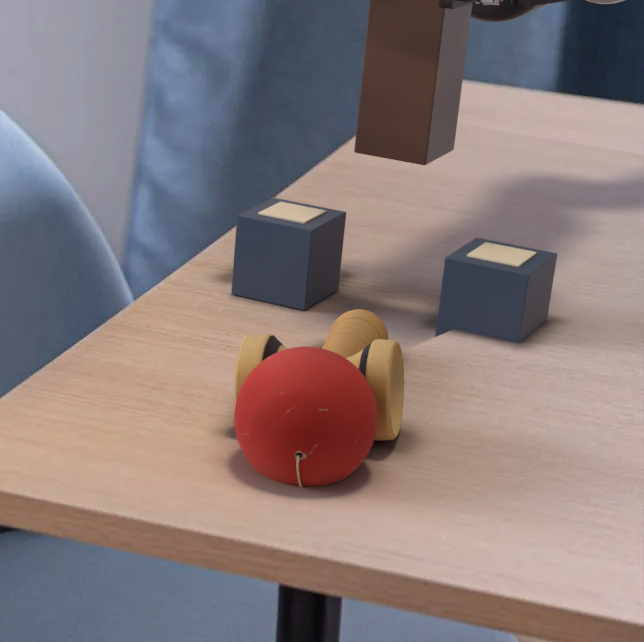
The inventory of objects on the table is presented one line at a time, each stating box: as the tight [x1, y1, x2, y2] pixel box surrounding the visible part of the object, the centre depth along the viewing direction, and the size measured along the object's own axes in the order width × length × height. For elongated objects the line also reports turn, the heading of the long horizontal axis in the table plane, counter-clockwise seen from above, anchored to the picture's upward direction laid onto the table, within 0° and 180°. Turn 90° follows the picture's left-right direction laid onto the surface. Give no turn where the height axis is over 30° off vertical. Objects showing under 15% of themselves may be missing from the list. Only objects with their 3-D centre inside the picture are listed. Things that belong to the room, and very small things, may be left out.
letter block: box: [353, 0, 472, 166], centre depth 90 cm, size 4×4×11 cm
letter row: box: [230, 197, 558, 344], centre depth 95 cm, size 16×4×5 cm, turn 59°
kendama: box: [233, 308, 405, 488], centre depth 80 cm, size 8×6×18 cm
